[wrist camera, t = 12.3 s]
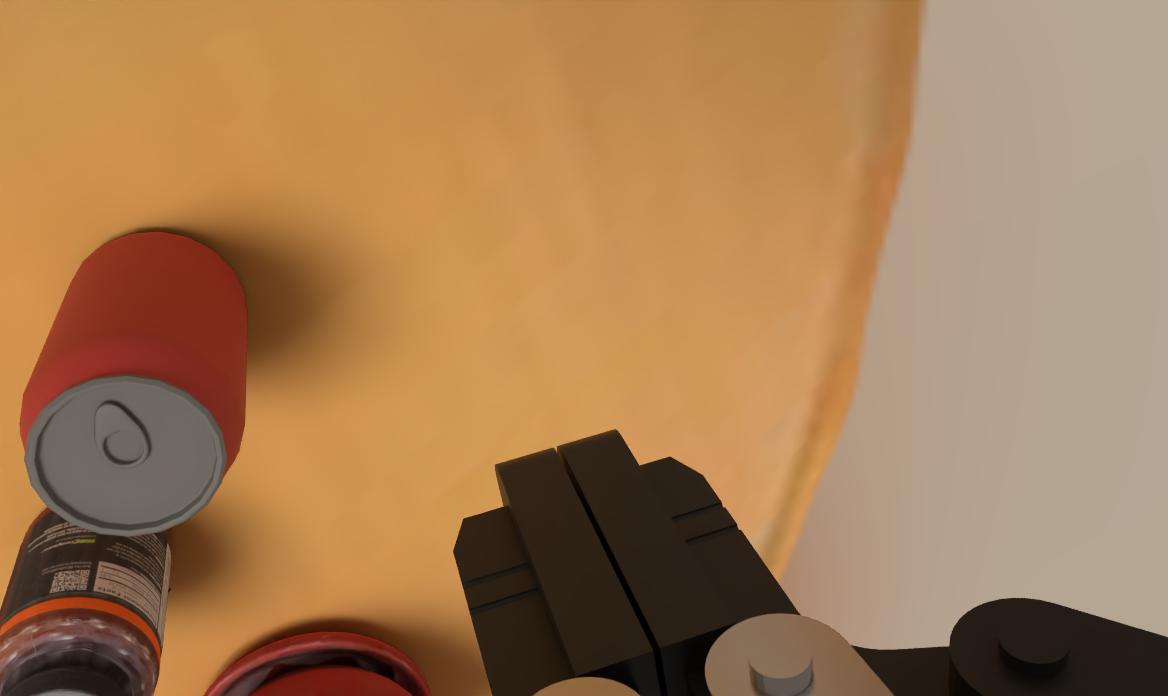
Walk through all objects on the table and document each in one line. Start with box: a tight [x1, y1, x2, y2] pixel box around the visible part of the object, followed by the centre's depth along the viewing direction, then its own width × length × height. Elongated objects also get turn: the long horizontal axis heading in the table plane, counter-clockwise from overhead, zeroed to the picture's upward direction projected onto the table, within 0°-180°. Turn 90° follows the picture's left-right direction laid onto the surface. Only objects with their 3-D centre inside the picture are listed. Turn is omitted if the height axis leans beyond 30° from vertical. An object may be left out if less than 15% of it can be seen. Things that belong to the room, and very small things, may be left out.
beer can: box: [20, 231, 248, 537], centre depth 36 cm, size 7×7×12 cm
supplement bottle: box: [0, 508, 171, 696], centre depth 40 cm, size 6×6×11 cm
